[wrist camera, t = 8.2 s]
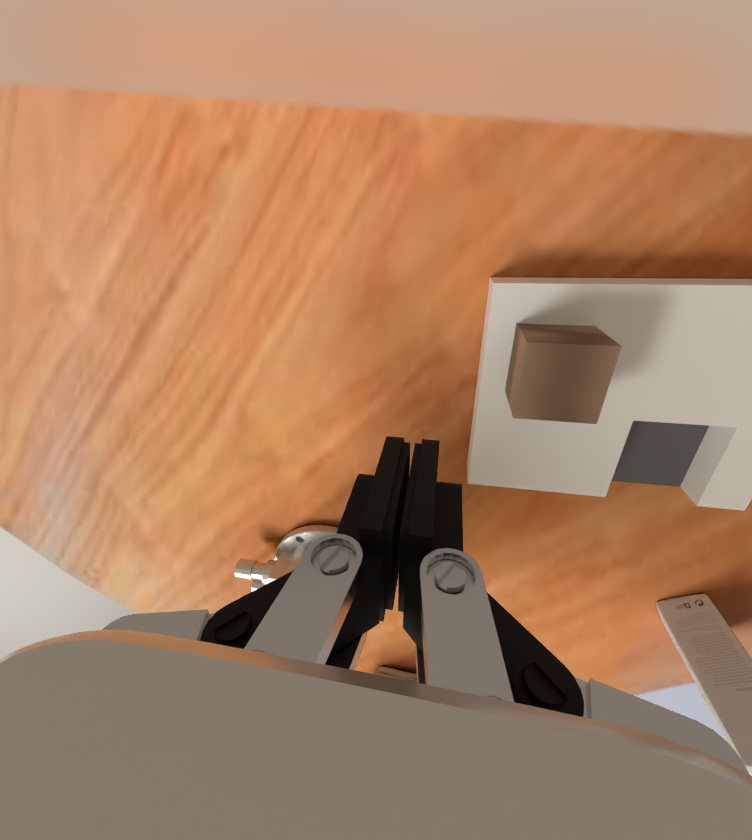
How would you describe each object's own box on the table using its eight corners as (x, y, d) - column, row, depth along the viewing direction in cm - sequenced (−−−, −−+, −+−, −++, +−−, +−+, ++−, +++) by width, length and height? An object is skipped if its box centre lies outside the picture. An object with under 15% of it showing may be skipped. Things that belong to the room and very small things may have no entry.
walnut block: (504, 390, 25) (513, 418, 21) (516, 323, 23) (527, 342, 19) (576, 394, 24) (596, 424, 21) (595, 325, 22) (621, 346, 18)
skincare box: (652, 601, 35) (737, 766, 24) (708, 590, 33) (826, 763, 22) (671, 639, 37) (757, 807, 26) (725, 631, 35) (841, 808, 24)
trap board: (466, 465, 31) (469, 505, 27) (489, 277, 24) (498, 290, 20) (915, 505, 26) (1007, 562, 22) (1116, 281, 19) (1314, 299, 14)
